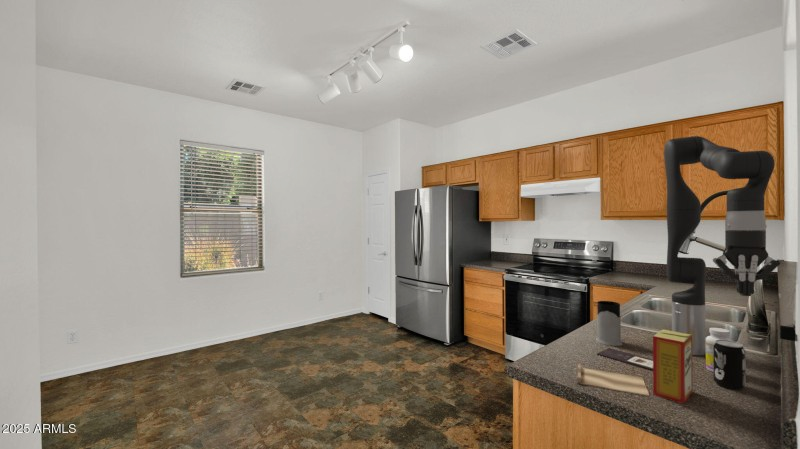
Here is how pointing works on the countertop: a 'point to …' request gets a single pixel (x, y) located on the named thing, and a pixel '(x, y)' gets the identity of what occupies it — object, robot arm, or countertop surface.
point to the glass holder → (608, 323)
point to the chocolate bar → (628, 358)
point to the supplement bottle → (710, 341)
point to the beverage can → (729, 364)
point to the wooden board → (612, 381)
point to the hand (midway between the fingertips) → (745, 295)
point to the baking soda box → (672, 365)
